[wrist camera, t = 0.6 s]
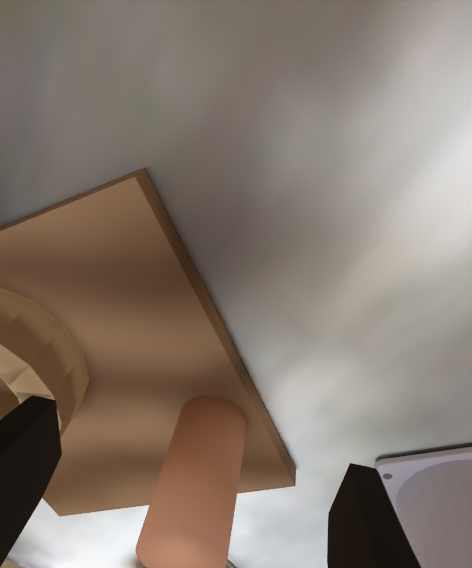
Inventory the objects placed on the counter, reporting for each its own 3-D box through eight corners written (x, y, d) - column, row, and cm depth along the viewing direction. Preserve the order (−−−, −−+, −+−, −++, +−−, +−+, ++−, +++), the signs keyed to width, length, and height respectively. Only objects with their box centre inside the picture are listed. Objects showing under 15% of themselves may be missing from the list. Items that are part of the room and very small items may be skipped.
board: (295, 467, 26) (295, 485, 25) (67, 500, 31) (59, 516, 30) (144, 167, 18) (134, 176, 17) (-130, 280, 23) (-150, 292, 22)
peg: (257, 438, 23) (240, 581, 17) (197, 448, 24) (161, 586, 18) (231, 389, 22) (202, 528, 16) (168, 403, 23) (119, 536, 17)
